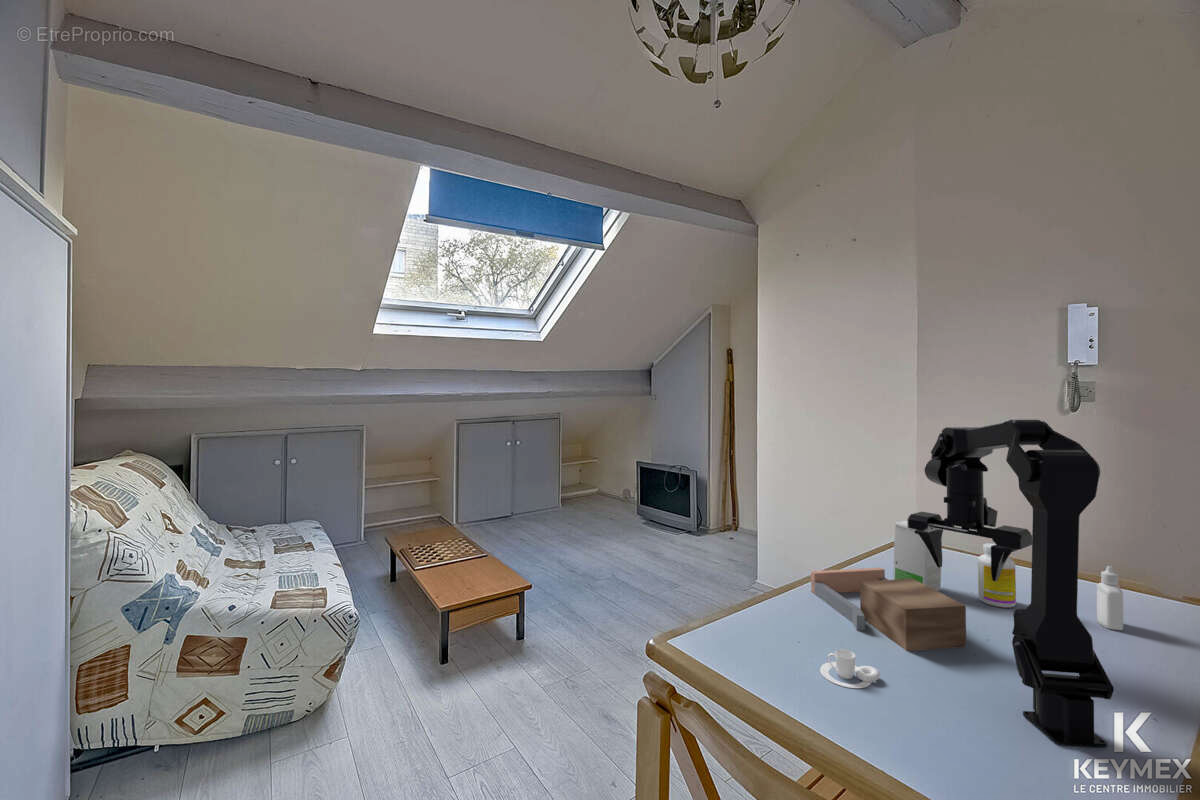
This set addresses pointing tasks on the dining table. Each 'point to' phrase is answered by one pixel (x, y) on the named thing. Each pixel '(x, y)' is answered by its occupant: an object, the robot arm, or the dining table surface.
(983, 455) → the robot arm
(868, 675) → the teacup and saucer
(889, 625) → the walnut box
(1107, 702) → the dining table surface
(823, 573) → the box pocket
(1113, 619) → the eye dropper bottle
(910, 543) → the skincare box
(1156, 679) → the dining table surface
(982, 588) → the supplement bottle
